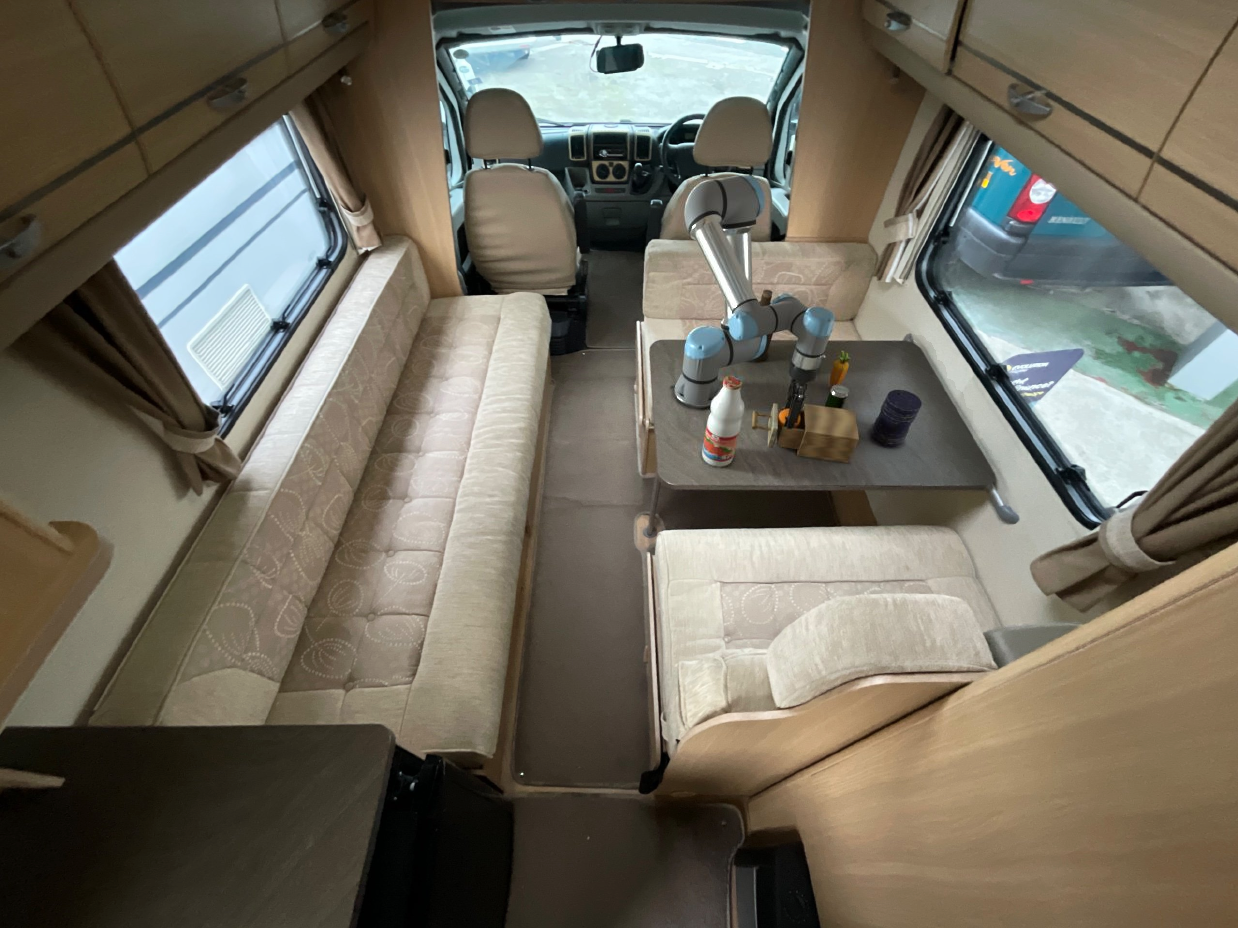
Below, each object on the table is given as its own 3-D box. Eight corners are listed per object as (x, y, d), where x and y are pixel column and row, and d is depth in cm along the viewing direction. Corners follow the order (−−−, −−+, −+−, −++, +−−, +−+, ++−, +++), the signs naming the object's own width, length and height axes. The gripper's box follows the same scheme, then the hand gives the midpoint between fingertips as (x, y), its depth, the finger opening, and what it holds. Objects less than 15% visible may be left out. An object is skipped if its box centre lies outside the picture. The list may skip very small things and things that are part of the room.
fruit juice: (739, 455, 166) (758, 380, 146) (721, 472, 161) (738, 396, 141) (713, 440, 171) (728, 365, 151) (695, 456, 166) (707, 381, 146)
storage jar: (908, 446, 171) (929, 408, 160) (880, 450, 169) (898, 412, 159) (891, 424, 178) (909, 387, 167) (863, 428, 176) (880, 391, 165)
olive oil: (751, 366, 198) (766, 302, 180) (732, 351, 205) (745, 288, 187) (774, 357, 202) (790, 294, 184) (754, 343, 209) (768, 281, 191)
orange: (775, 433, 167) (780, 416, 162) (775, 419, 171) (780, 402, 166) (797, 436, 166) (803, 419, 161) (797, 422, 170) (802, 405, 166)
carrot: (841, 394, 188) (855, 357, 177) (826, 394, 188) (840, 357, 177) (837, 385, 191) (851, 348, 181) (823, 385, 191) (836, 348, 181)
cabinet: (797, 455, 167) (805, 431, 160) (796, 427, 176) (804, 403, 169) (848, 463, 165) (859, 439, 158) (844, 434, 174) (854, 410, 167)
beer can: (819, 422, 178) (830, 393, 169) (820, 412, 181) (831, 382, 173) (837, 426, 177) (849, 396, 168) (837, 415, 180) (849, 386, 172)
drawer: (748, 444, 169) (753, 425, 163) (749, 419, 177) (754, 400, 171) (813, 454, 166) (821, 434, 160) (812, 428, 174) (819, 409, 168)
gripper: (821, 386, 145) (799, 450, 161) (818, 345, 158) (798, 408, 174) (792, 382, 145) (773, 446, 162) (791, 342, 159) (773, 405, 175)
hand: (786, 426), depth 168 cm, fingers closed on drawer, orange, 6 cm apart
